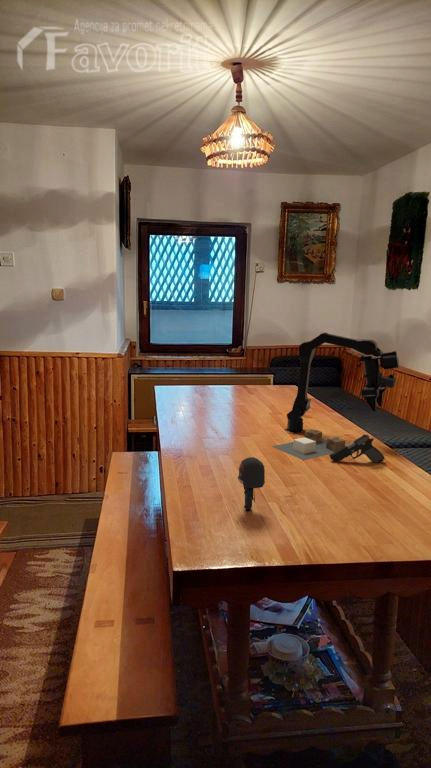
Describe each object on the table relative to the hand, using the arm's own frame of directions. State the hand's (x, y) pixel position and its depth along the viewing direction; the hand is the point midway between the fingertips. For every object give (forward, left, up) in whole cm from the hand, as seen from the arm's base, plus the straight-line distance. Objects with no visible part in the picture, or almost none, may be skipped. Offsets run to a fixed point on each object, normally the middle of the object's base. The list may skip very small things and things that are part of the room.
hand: (377, 408), depth 203 cm
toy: (+22, -83, -15) cm, 87 cm away
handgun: (+12, -25, -15) cm, 32 cm away
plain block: (-7, -33, -14) cm, 37 cm away
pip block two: (-2, -21, -14) cm, 26 cm away
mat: (-8, -28, -15) cm, 33 cm away
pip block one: (-14, -21, -14) cm, 29 cm away
